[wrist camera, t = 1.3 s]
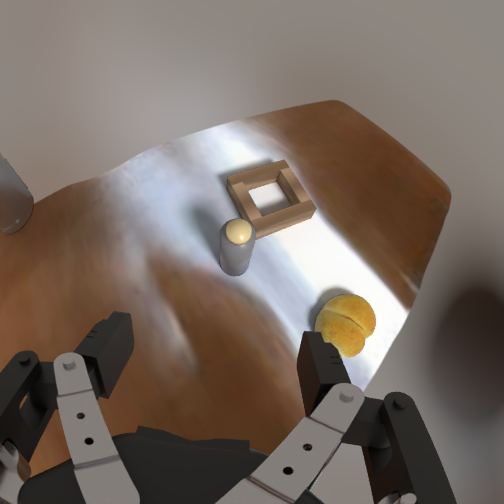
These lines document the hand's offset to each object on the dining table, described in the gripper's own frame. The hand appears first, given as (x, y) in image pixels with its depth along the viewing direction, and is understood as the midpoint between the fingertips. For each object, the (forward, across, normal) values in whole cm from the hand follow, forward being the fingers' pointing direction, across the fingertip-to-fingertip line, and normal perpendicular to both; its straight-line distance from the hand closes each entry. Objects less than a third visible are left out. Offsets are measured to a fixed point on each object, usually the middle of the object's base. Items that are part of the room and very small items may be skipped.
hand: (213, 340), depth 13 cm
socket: (+35, -4, -1) cm, 35 cm away
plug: (+28, 0, +7) cm, 29 cm away
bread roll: (+23, -16, +13) cm, 31 cm away
